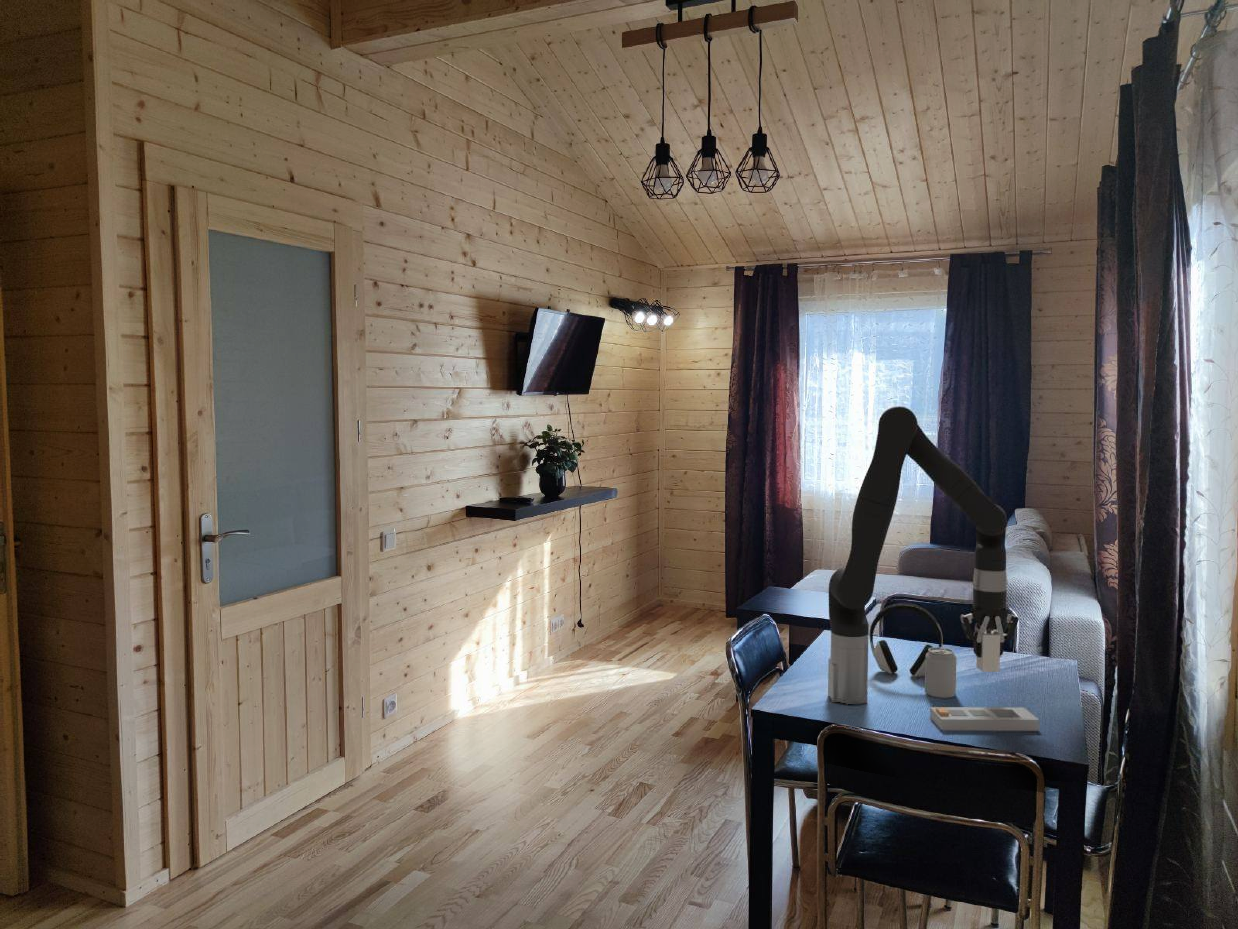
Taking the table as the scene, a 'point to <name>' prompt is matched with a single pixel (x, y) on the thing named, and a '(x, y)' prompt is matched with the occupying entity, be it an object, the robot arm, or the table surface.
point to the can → (940, 672)
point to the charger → (989, 652)
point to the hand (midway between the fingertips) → (988, 656)
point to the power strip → (984, 718)
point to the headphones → (882, 648)
